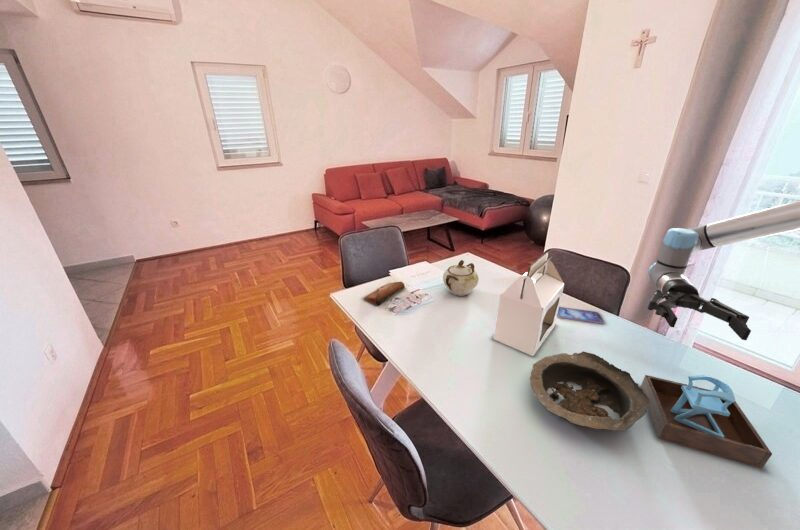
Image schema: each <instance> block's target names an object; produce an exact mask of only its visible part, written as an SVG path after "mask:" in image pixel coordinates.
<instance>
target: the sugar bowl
mask: <svg viewBox="0 0 800 530" xmlns="http://www.w3.org/2000/svg"><path fill="white" fill-rule="evenodd" d="M464 264H465V261H464V260H463V259H460V260H459V262H458V263H457V264H455V265H450V266H449V267H448V268H446V270H445V271H444V272H443V274H442V281H443V283H444V285H445V287H446V288H447V290H448V291H449V292H450V293H451V294H452V295H454V296H457V297H465V296H467V295H469V294H470V293H471V292H472V291H473V290H474V289H475V288H476V287H477V285H478V284H479V280H480V279H479V275H478V272H476V269H475V264H474V263H472V262H471V263H468V264H465V265H464Z"/></svg>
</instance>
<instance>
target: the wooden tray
mask: <svg viewBox="0 0 800 530" xmlns="http://www.w3.org/2000/svg"><path fill="white" fill-rule="evenodd" d="M682 385H684V386H687V385H688V383H687V384H686V383H684V382H683V383H682V382H678V381H673V380H669V379H665V378H661V377H657V376H652V375H648V374H645V375H644V377H643V379H642V382H641V384H640V387H639V388H641V389H642V390H643V393H644V394H646V396H647V397H648V398H649V400H650V401H649V402H650V403H648V404H645V406H646V409H647V412H648V413H649V416H650V419H651V421H652V424H653V427H654V430H655V432H656V435H657V438H658V439H659V440H661V441H665V442H669V443H673V444H676V445H679V446H682V447H686V448H690V449H693V450H696V451H700V452H703V453H707V454H710V455H713V456H716V457H720V458H724V459H727V460H731V461H734V462H737V463H741V464H744V465H748V466H752V467H754V468H758V469H763V468H764V467H765V465H766V463H767V462H768V461H769V460H770V458H771V457H772V455H773V452H771V450H770V449H769V446H767V444H766V443H765V441H764V440H763V438H762V437H761V436H760V433H758V431H757V430H756V428H755V427H754V425H753V424H752V423H751V421H750V420H749V418H748V417H747V415H746V414H745V412H744V411H743V409H742V408H741V406H740V405H739V404H738V403H737V401H736V400H735V402H733V403H732V404H730V405H729V406H728V407H727V410H728V411H729V413H730V415H729V417H728V416H724V415H720V414H714V413H710V414H711V415H712V417H713V419H714V420H715V422H716V424H717V425H718V427H719V428H720V430H721V432H722V433H723V435H724V438H722V437H718V436H714V435H711V434H707V433H704V432H702V431H699V430H697V429H695V428H693V427H690V426H688V425H685V424H683V423H680V422H678V421H675V420H674V418H675V416H677V415H680V414H675V413H672V412H671V411H670V410H671V409H672V407H673V406H674V405H675V404H676V402H677V401H678V400H679V398H680V397H681V395H682V394H683V390H682V389H681V387H682ZM692 388H696V389H700V390H705V391H712V390H713V389H707V388H703V387H699V386H695V385H693V386H692ZM720 400H721V401H722V403H725V402H727V401H725V400H723V399H720ZM681 409H693V408H692V407H691V405H690V403H689V401H687V402H686V403H685V404H684V405H683V406H682V408H681ZM685 419H687V420H690V421H692V422H694V423H696V424H698V425H701V426H703V427H705V428H707V429H710V430H712V431H714V432H716V431H715V429H714V428H713V426H712V424H711V423H710V421H709V419H708V418H707V416H706V415H703V414H697V415H694V416H691V417H688V418H685Z"/></svg>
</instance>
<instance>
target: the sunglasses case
mask: <svg viewBox="0 0 800 530" xmlns="http://www.w3.org/2000/svg"><path fill="white" fill-rule="evenodd" d="M404 289H405V283H404V281H394V282H390V283H387V284H384V285H381V286H380V287H378V288H377V289H375V290H374V291H372V292H370V293H369V294H368V295H366V296H365V297H364V298H363V299H364V300H365V301H366V302H367V303H369V304H372V305H373V306H378V305H379V304H381V303H382V302H384V301H385V300H387V299H388V298H390V297H391V296H394V295H395V294H397V293H398V292H400V291H402V290H404Z"/></svg>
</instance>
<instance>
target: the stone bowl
mask: <svg viewBox="0 0 800 530" xmlns="http://www.w3.org/2000/svg"><path fill="white" fill-rule="evenodd" d="M529 383H530V387H531V391H532V393H533V394H534V395H535V397H536V398H537V399H538V400H539V402H540V404H542V405H543V406H544V408H545V409H546V410H547V411H549V412H551V413H552V414H554V415H556V416H559V417H560V418H562V419H564V420H565V421H568V422H570V423H571V424H574V425H578V426H582V427H586V428H591V429H595V430H596V429H597V430H608V431H609V430H610V431H614V432H616V431H622V432H626V431H627V430H629V429H630V428H632V427H633V425H634V424H635V423H636V422H637V421H639V420H640V419H642V418H643V417H645V415H646V413H647V407H646V404H648V403H650V402H649V401H650V400H649V398H648V397H647V396H646V394H644V393H643V390H642V389H641V388H640V387H639V383H637V382H635V380H634V378H633V377H632V376H631V373H630V372H629V371H626V370H622V369H621V368H618V367H617V366H615V365H614V364H612V363H610V362H608V361H607V360H606V359H604V358H603V357H600V356H599V355H597V354H595V353H592V352H587V351H581V352H579V353H578V352H574V353H572V354H568V353H566V352H565V353H564V352H562V353H559V354H553V355H548V356H544V357H542V358H541V359H539V360H537V361H536V362H535V363H533V364H532V368H531V371H530V376H529ZM568 383H574V384H576V385H578V386H580V387H581V389H575V387H574V385H572V384H571V386H569V384H568ZM549 389H551V391H552V393H551V394H549V393H548V390H549ZM574 389H575V390H574ZM560 396H562V397H563V399H560V401H559V402H558V403H556V401H558V400H559V398H560ZM598 405H600V406H605V407H608V408H609V409H610V410H612V412H613V413H617V414H618V415H619V417H618V418H612V417H611V416H610V414H609V412H608V410H607V409H605V408H603V407H599V406H598Z"/></svg>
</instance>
